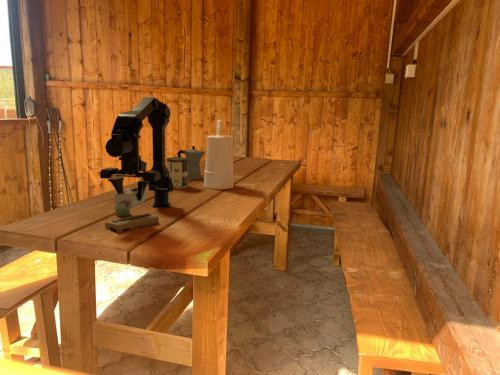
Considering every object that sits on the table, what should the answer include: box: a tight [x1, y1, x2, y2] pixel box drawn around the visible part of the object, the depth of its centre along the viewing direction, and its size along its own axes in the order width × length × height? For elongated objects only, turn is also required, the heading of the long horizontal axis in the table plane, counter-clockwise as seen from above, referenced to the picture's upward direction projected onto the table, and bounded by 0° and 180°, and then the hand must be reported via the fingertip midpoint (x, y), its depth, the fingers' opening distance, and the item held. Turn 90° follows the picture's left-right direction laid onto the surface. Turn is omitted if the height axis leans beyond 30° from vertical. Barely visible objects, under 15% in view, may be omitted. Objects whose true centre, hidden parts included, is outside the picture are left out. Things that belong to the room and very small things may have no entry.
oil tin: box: [114, 191, 131, 217], centre depth 141 cm, size 5×5×9 cm
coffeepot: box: [176, 145, 206, 180], centre depth 215 cm, size 15×9×18 cm, turn 103°
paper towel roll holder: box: [203, 119, 235, 190], centre depth 195 cm, size 15×15×33 cm
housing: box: [114, 186, 147, 209], centre depth 129 cm, size 14×6×5 cm, turn 171°
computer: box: [104, 213, 160, 234], centre depth 130 cm, size 16×8×3 cm, turn 138°
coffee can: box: [165, 156, 188, 189], centre depth 192 cm, size 10×10×14 cm
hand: (131, 199), depth 129 cm, fingers closed on housing, 6 cm apart
